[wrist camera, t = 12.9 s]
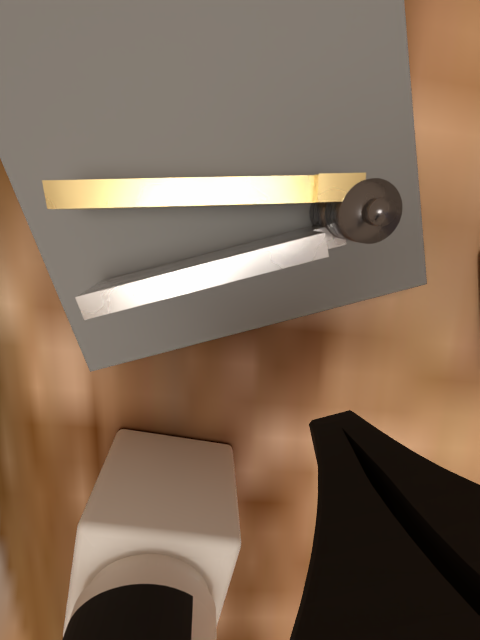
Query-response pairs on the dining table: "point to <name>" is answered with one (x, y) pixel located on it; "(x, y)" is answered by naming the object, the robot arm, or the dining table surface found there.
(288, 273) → the board
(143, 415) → the dining table surface
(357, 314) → the dining table surface
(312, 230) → the fixed leaf
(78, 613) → the medicine bottle
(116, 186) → the swing leaf
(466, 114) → the dining table surface
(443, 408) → the dining table surface
